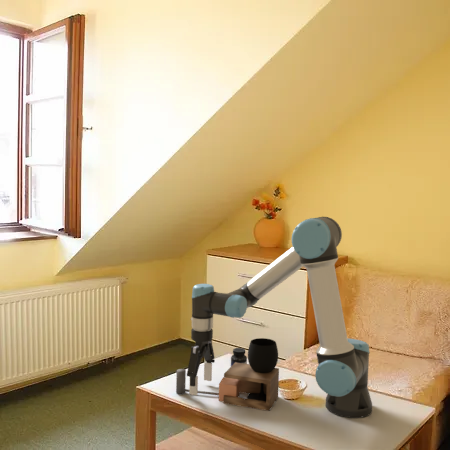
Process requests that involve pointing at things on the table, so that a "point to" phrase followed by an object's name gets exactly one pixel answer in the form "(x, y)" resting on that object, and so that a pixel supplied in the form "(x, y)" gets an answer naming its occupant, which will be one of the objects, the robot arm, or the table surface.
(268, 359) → the black goblet
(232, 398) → the shelf
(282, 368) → the table surface
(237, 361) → the pill bottle
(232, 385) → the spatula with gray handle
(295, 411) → the table surface
